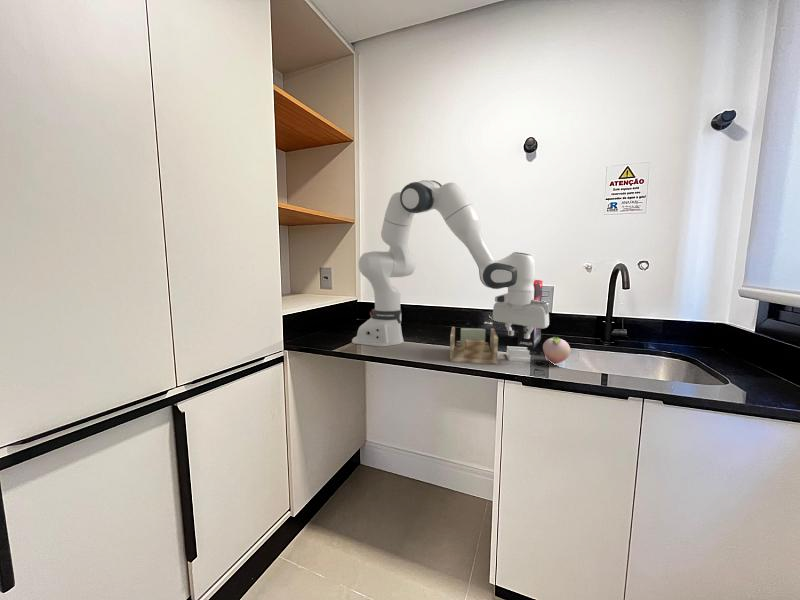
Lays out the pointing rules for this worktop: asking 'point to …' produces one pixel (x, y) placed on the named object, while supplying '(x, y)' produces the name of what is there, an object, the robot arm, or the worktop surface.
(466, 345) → the offcut upper
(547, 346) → the decorative fruit
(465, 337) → the sheet
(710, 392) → the worktop surface
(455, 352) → the rack
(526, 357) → the holder
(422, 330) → the worktop surface
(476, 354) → the offcut lower
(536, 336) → the graphics card box
